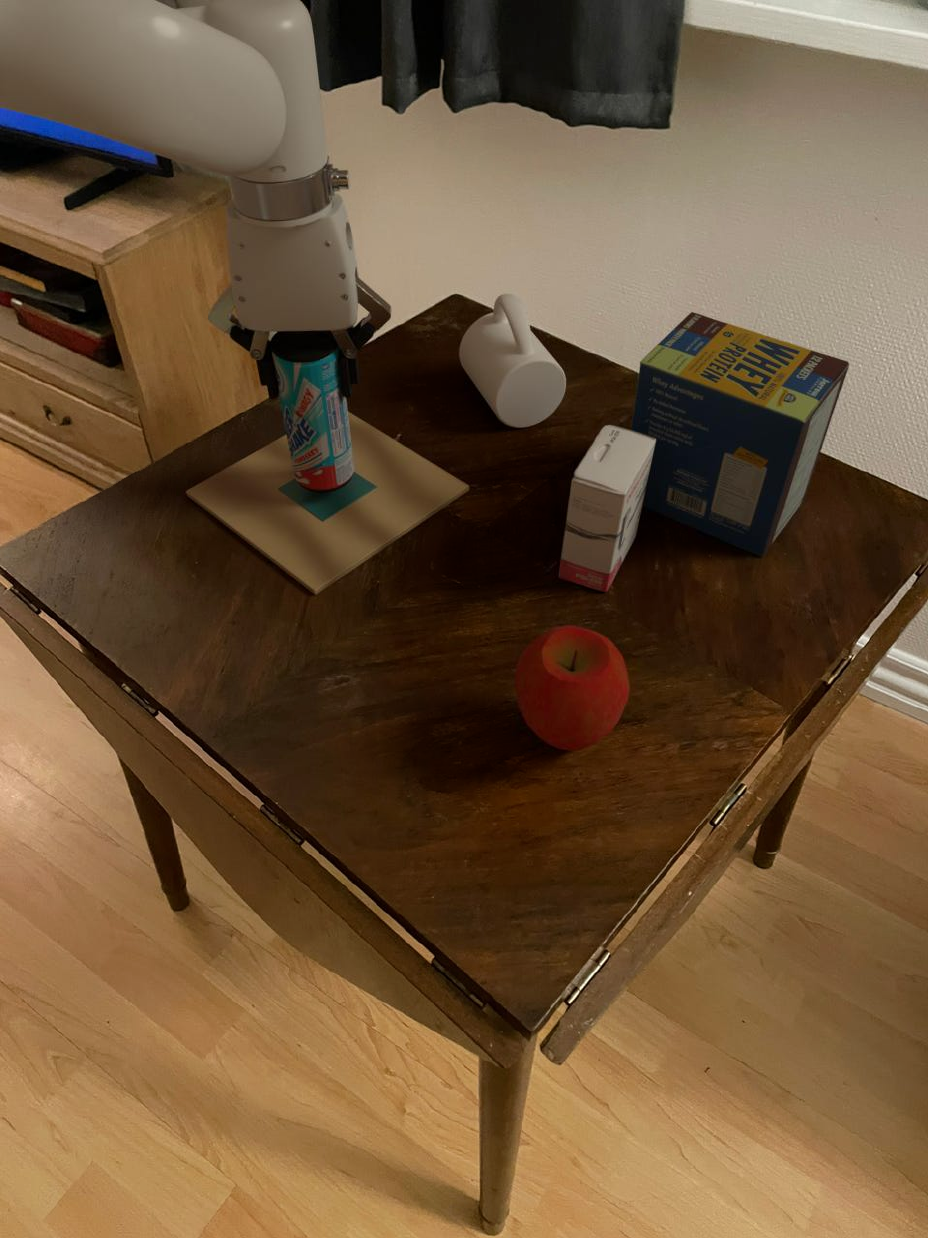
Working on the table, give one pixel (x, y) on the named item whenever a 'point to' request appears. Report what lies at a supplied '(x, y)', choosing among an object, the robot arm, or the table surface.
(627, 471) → the ink box
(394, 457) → the cork mat
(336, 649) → the table surface
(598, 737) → the apple
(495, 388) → the mug
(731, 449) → the protein box
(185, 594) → the table surface
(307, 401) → the beverage can
